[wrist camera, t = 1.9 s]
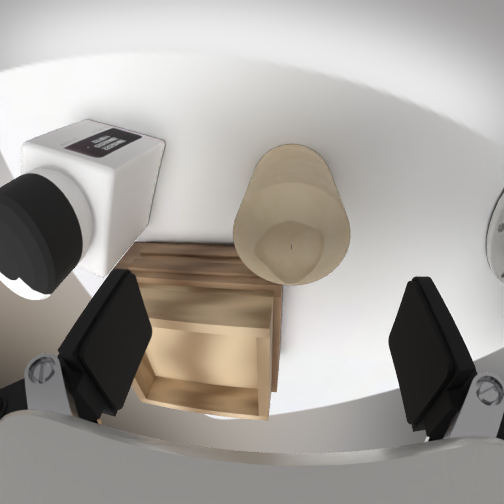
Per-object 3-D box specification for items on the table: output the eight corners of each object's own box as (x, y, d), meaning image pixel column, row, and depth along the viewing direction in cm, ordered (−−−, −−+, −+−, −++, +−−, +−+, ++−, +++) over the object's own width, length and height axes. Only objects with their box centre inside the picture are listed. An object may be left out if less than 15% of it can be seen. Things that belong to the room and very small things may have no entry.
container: (85, 117, 20) (-44, 172, 9) (167, 140, 21) (50, 216, 10) (76, 199, 24) (-22, 283, 13) (148, 226, 25) (63, 337, 14)
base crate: (284, 244, 24) (281, 282, 20) (279, 353, 31) (276, 391, 27) (134, 239, 26) (107, 271, 21) (163, 342, 33) (149, 376, 28)
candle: (325, 218, 23) (341, 308, 14) (252, 212, 23) (227, 298, 15) (334, 147, 20) (367, 201, 11) (255, 140, 20) (226, 188, 12)
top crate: (273, 291, 20) (269, 328, 17) (271, 389, 27) (268, 420, 24) (115, 280, 22) (94, 309, 19) (152, 374, 28) (141, 401, 25)
